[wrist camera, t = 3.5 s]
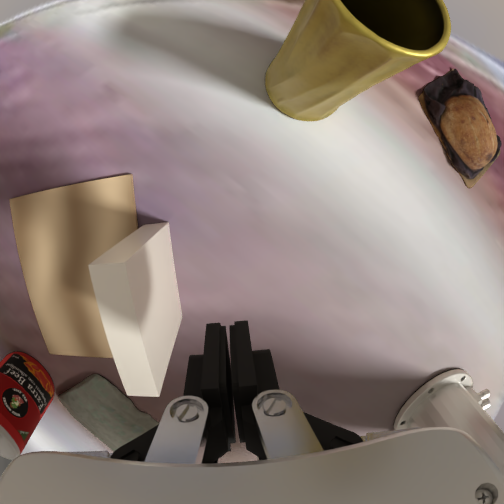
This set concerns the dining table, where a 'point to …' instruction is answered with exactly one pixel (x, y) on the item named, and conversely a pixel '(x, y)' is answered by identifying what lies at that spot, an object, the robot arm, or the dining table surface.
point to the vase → (351, 51)
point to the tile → (139, 306)
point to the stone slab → (106, 411)
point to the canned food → (21, 401)
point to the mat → (71, 257)
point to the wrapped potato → (461, 125)
